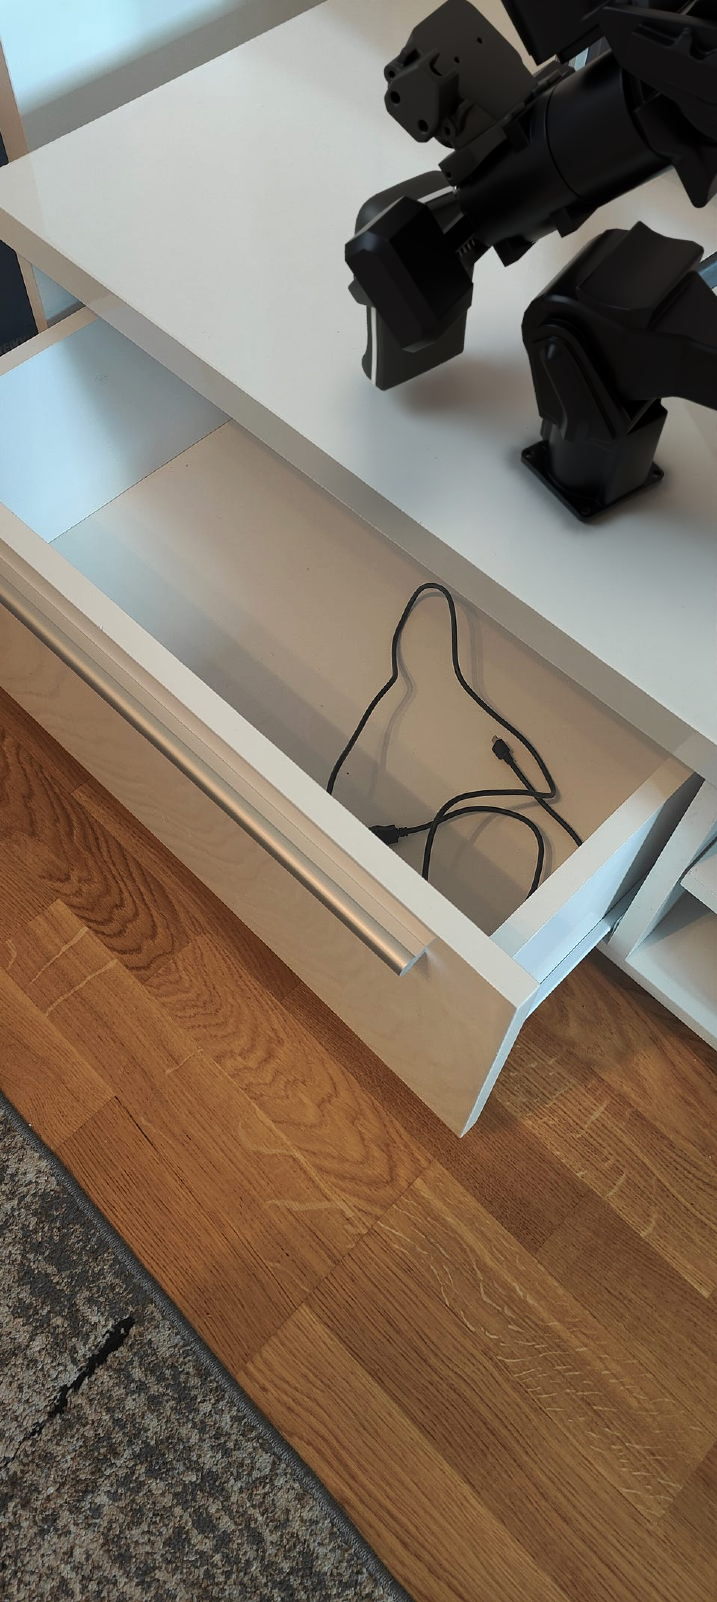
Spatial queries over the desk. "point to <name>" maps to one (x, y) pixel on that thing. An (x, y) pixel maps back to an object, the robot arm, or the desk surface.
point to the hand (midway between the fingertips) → (391, 258)
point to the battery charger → (383, 351)
